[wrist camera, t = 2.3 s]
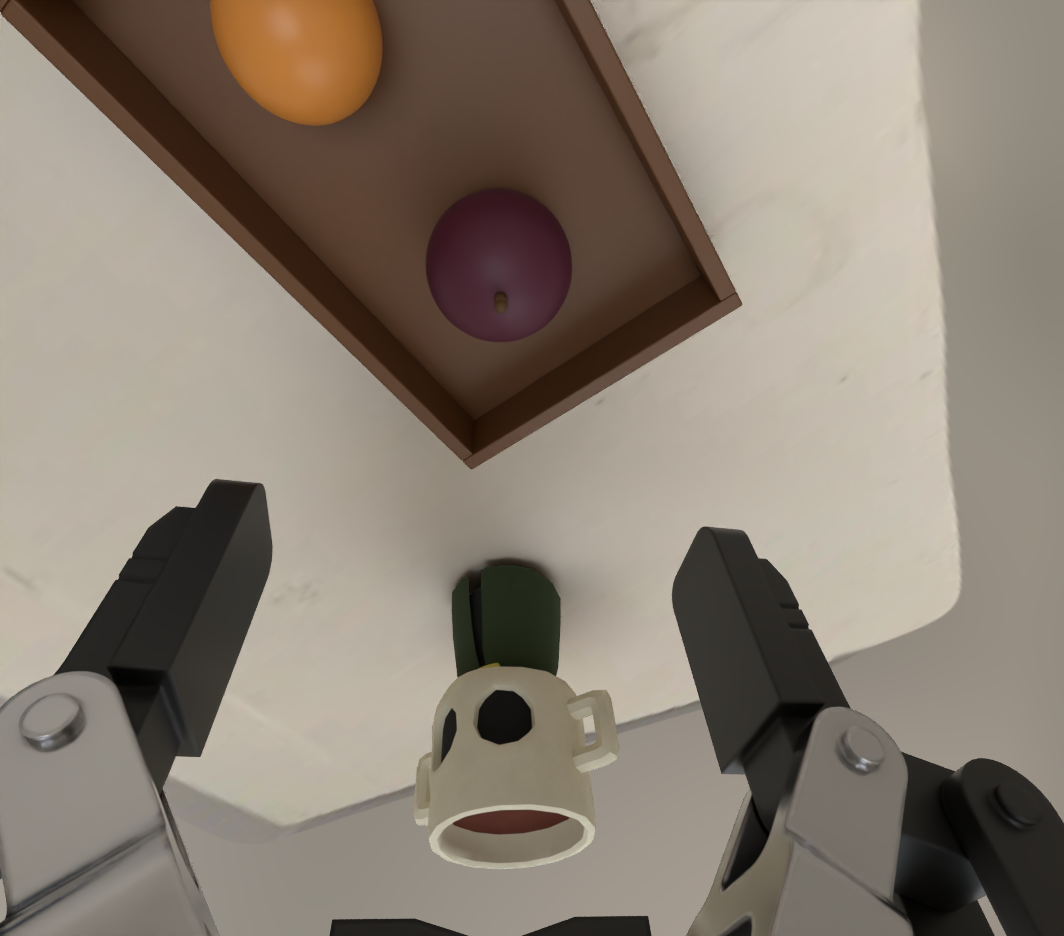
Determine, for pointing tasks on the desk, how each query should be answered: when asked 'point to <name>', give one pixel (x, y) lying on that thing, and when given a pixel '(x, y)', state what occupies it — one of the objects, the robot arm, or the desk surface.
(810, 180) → the desk surface
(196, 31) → the tray
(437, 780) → the character mug
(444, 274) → the plum
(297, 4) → the apricot
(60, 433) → the desk surface
